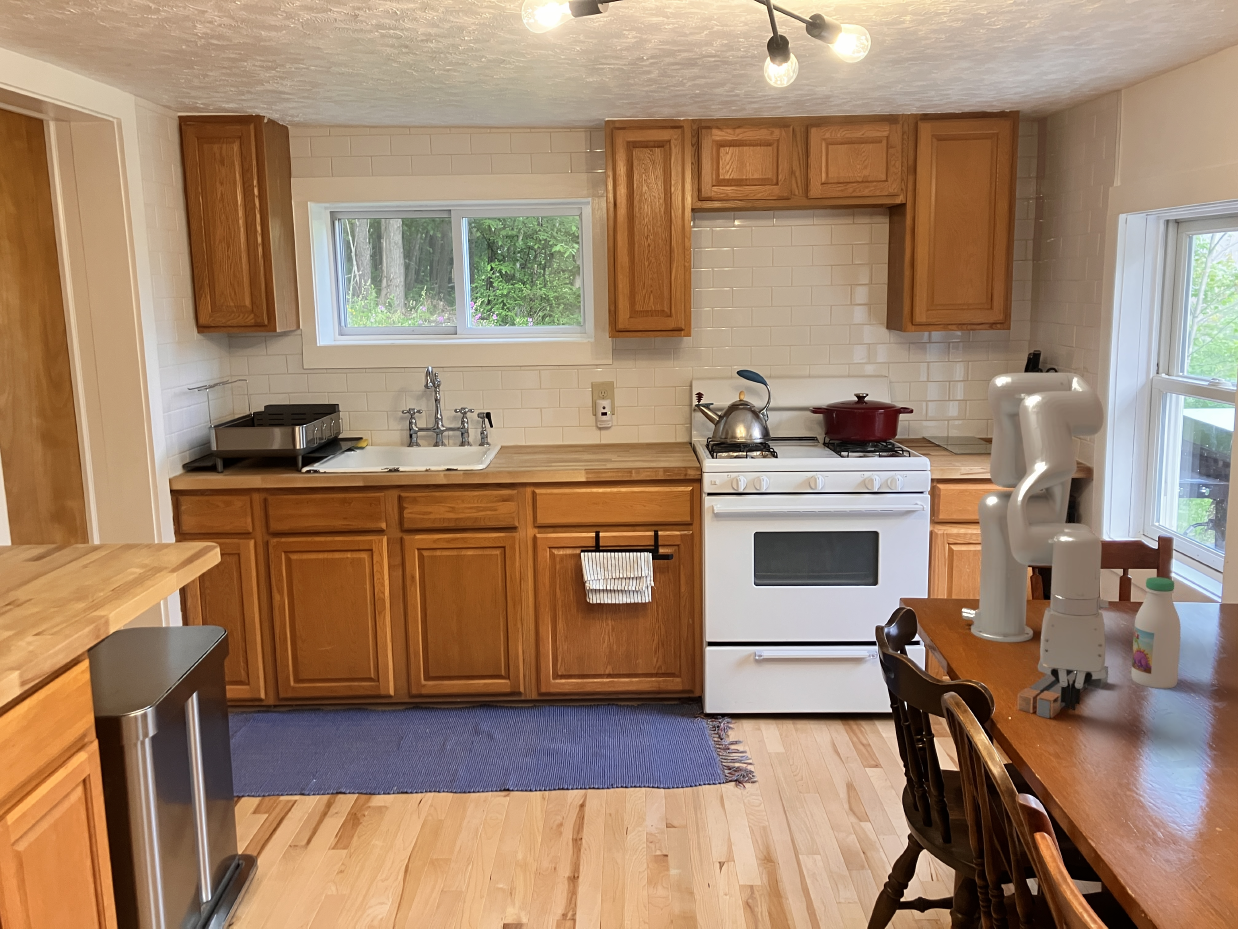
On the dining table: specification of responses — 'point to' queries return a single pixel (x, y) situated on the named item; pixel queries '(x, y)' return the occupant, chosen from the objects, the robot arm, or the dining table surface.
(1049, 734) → the dining table surface
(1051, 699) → the arm
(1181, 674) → the dining table surface
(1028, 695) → the tongs base
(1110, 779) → the dining table surface
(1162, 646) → the milk bottle
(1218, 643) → the dining table surface
